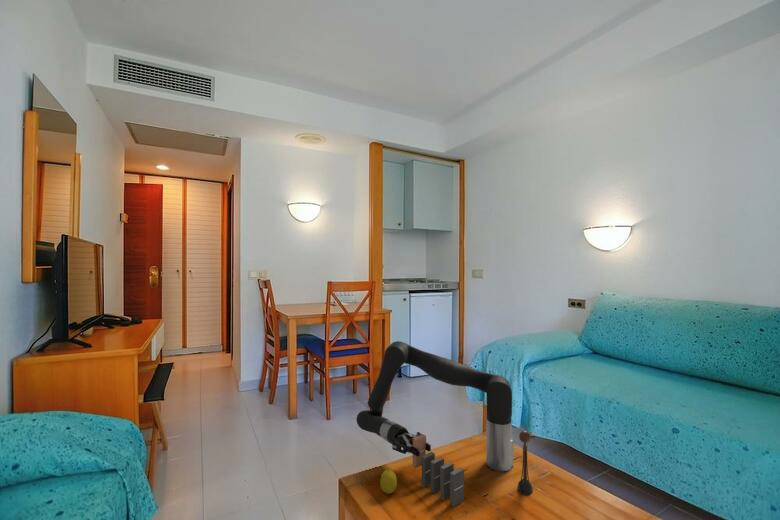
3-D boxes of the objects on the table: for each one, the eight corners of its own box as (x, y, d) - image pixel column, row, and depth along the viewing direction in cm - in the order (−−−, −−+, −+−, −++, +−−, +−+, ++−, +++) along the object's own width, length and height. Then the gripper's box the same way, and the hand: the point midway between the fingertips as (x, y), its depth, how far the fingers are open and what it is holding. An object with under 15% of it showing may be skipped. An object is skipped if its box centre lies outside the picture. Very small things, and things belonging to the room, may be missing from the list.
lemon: (398, 490, 123) (398, 467, 123) (393, 500, 117) (393, 475, 118) (383, 487, 124) (383, 464, 125) (377, 497, 119) (377, 472, 119)
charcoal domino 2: (430, 491, 122) (430, 461, 123) (440, 485, 126) (440, 456, 126) (434, 493, 121) (434, 463, 121) (444, 487, 124) (444, 458, 125)
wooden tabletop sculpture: (531, 485, 126) (531, 427, 127) (538, 493, 122) (538, 433, 122) (515, 486, 125) (515, 428, 126) (521, 494, 121) (521, 434, 121)
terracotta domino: (412, 466, 129) (412, 438, 129) (422, 461, 132) (422, 434, 133) (415, 468, 128) (415, 439, 128) (425, 463, 131) (425, 435, 131)
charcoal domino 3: (440, 497, 119) (440, 466, 119) (450, 491, 122) (450, 461, 123) (443, 500, 118) (443, 469, 118) (453, 493, 121) (453, 463, 121)
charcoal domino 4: (449, 504, 116) (450, 472, 116) (460, 497, 119) (460, 467, 119) (453, 506, 115) (453, 475, 115) (463, 500, 118) (463, 469, 118)
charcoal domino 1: (421, 485, 126) (421, 456, 126) (431, 479, 129) (431, 451, 129) (424, 487, 125) (424, 458, 125) (434, 482, 128) (434, 453, 128)
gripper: (379, 428, 137) (410, 446, 124) (407, 418, 146) (438, 434, 133) (379, 448, 137) (409, 468, 124) (407, 437, 146) (438, 455, 133)
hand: (424, 450), depth 128 cm, fingers closed on terracotta domino, 5 cm apart
